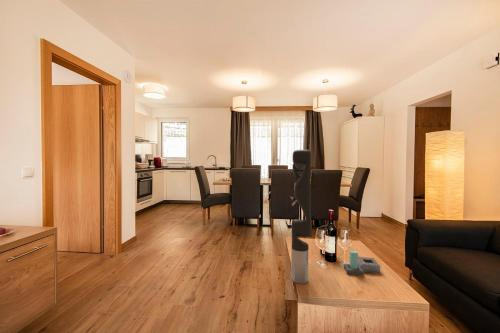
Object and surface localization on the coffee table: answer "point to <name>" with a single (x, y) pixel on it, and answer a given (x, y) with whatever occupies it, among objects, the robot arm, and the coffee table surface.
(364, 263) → the port block
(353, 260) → the plug
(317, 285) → the coffee table surface
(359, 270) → the dark grey shallow dish
